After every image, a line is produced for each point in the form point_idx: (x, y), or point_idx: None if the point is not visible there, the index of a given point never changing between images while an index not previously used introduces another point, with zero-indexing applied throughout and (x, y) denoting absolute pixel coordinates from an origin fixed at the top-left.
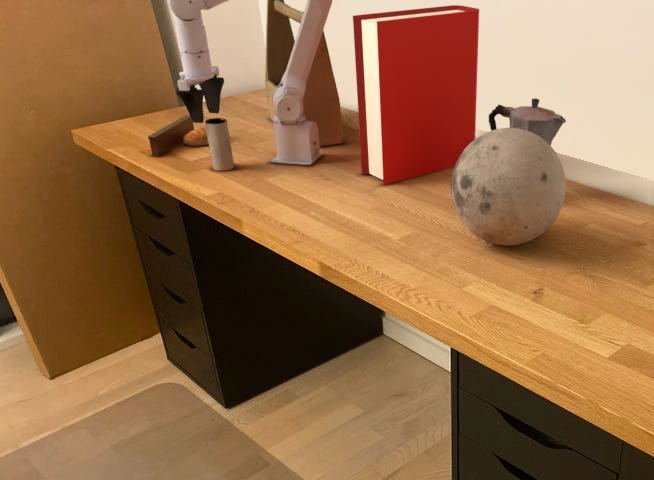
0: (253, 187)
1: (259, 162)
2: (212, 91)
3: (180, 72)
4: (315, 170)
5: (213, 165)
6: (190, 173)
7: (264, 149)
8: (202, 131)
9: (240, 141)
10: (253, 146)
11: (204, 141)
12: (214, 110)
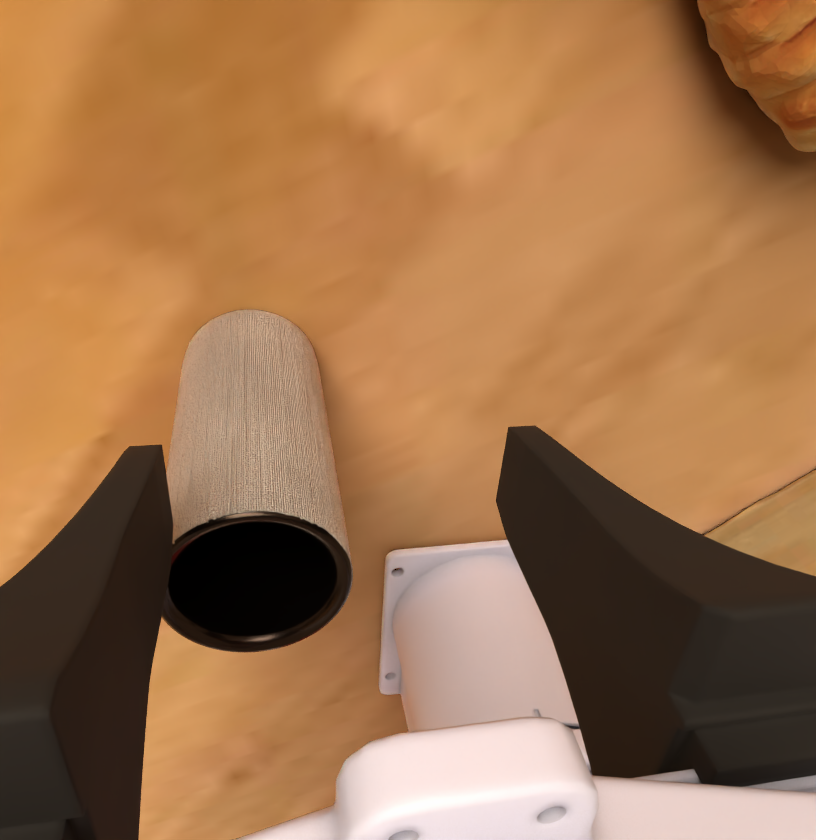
0: None
1: (390, 496)
2: (590, 649)
3: (432, 819)
4: (331, 713)
5: (193, 345)
6: (65, 211)
7: (611, 432)
8: (798, 18)
9: (776, 243)
10: (667, 358)
11: (713, 35)
12: (509, 492)
